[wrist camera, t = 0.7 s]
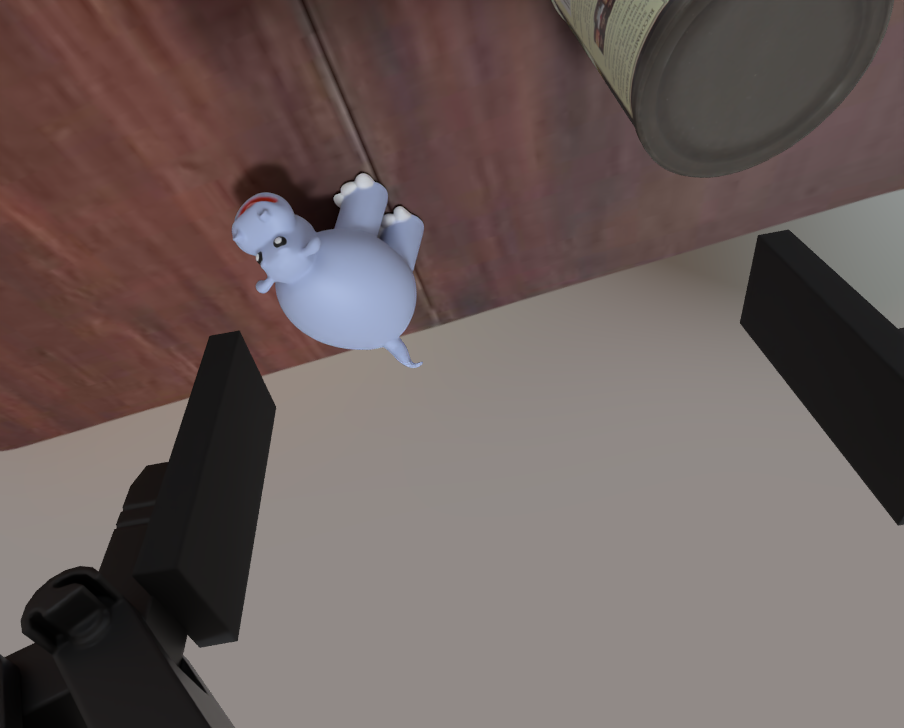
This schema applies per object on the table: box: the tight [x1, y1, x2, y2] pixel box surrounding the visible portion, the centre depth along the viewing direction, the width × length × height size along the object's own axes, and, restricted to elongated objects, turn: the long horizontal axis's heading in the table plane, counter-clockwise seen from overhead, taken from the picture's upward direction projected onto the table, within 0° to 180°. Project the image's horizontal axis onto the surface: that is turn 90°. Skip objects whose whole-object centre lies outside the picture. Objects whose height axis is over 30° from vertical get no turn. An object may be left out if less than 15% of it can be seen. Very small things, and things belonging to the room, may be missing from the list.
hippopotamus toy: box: [232, 173, 424, 368], centre depth 42 cm, size 11×15×10 cm
